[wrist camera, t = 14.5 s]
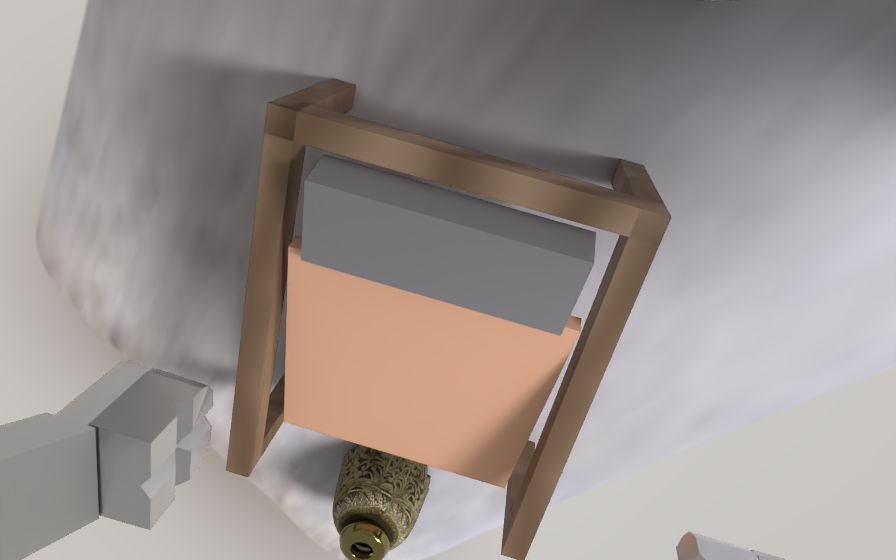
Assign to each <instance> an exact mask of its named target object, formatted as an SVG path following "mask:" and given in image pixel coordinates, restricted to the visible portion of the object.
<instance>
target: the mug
mask: <svg viewBox="0 0 896 560" xmlns="http://www.w3.org/2000/svg"><path fill="white" fill-rule="evenodd" d="M706 1H736V0H706Z"/></svg>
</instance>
